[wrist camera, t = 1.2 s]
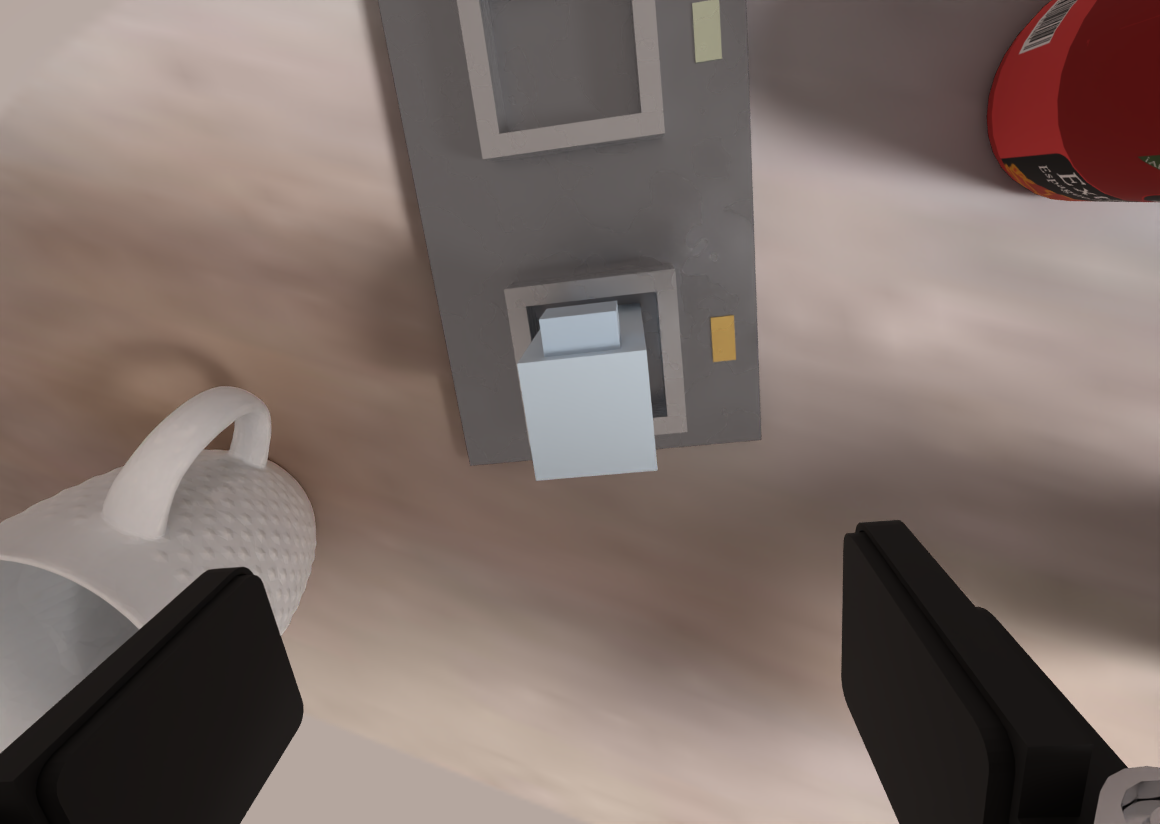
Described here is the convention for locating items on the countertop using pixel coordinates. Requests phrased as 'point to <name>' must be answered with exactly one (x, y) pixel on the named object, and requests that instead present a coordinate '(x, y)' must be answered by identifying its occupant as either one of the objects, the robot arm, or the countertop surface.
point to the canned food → (1082, 102)
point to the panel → (585, 195)
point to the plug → (588, 392)
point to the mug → (144, 548)
